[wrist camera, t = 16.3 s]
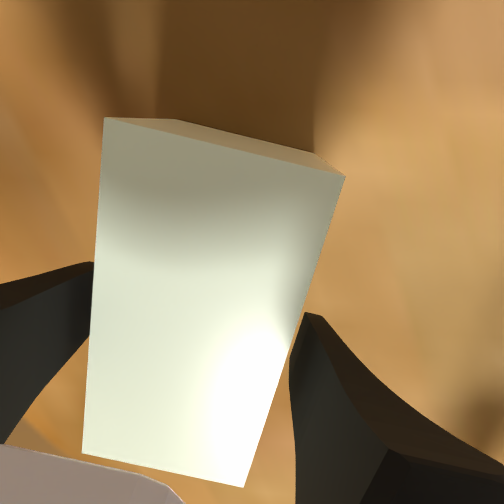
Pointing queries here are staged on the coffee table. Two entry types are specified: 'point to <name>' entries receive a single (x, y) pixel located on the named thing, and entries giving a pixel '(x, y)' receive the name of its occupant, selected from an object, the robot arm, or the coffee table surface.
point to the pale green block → (197, 291)
